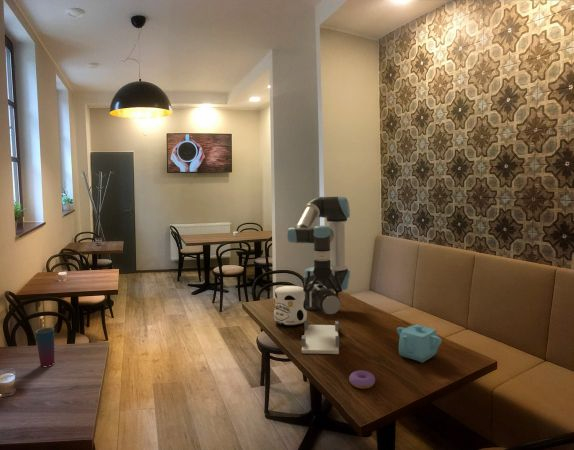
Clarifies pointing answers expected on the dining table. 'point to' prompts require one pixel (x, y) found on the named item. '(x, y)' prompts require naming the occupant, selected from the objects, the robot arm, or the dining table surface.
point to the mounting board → (320, 339)
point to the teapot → (418, 342)
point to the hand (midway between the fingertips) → (322, 306)
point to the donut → (362, 379)
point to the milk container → (290, 306)
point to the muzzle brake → (324, 298)
